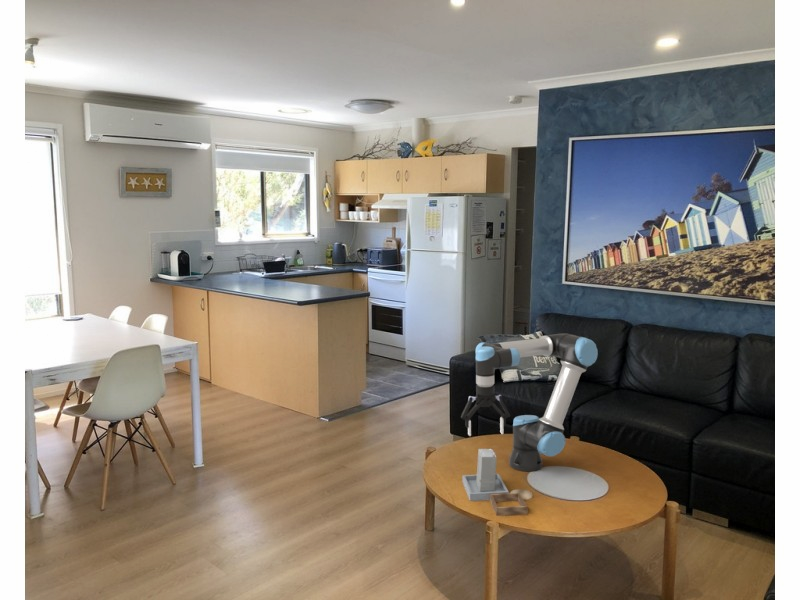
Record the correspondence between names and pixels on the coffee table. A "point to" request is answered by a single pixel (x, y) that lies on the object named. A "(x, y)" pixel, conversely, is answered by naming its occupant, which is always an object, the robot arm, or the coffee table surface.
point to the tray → (475, 493)
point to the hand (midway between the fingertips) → (485, 434)
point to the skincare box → (486, 470)
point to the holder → (508, 510)
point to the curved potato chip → (523, 493)
